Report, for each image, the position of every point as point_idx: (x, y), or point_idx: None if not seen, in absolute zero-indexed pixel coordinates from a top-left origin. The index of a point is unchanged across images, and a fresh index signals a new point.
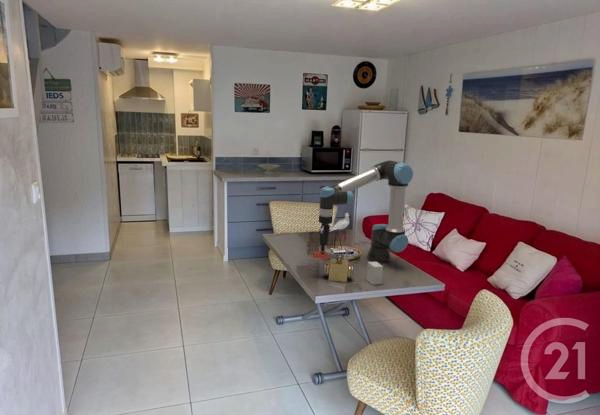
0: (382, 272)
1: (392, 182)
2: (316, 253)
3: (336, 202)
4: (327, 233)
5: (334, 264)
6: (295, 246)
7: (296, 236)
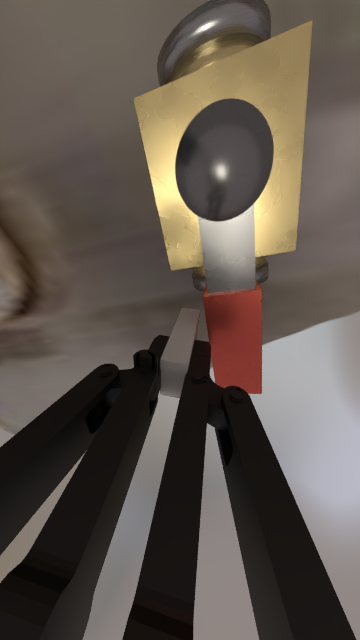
0: None
1: None
2: (260, 377)
3: None
4: (5, 496)
5: (297, 208)
6: (27, 387)
7: None
